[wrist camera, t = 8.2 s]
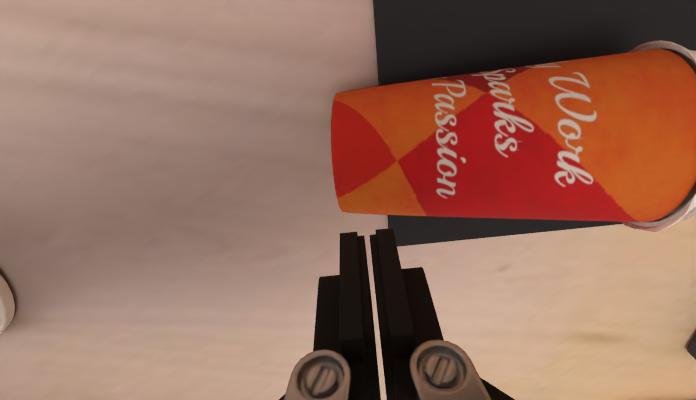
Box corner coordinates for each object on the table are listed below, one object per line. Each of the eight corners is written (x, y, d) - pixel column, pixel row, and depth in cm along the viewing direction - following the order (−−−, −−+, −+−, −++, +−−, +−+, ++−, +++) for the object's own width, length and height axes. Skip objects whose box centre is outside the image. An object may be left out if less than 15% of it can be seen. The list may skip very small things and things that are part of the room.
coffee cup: (333, 29, 17) (692, -6, 15) (353, 143, 24) (599, 129, 22) (318, 177, 13) (819, 156, 11) (348, 263, 20) (654, 260, 18)
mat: (389, 243, 25) (390, 247, 25) (371, -23, 17) (372, -23, 17) (653, 217, 25) (657, 220, 24) (765, -74, 16) (774, -76, 16)
